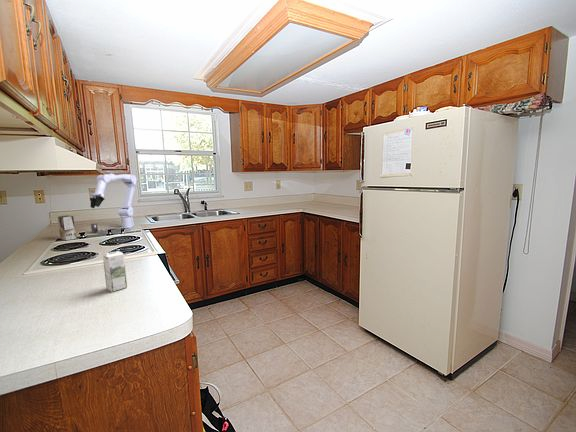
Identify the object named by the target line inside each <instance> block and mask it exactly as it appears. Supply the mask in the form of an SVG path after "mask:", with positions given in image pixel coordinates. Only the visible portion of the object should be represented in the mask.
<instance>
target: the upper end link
mask: <svg viewBox="0 0 576 432" xmlns="http://www.w3.org/2000/svg"><path fill="white" fill-rule="evenodd" d="M108 230H111V232H118V231H120V230H121V227H118V228H117V227H115V228H113V227H112V228H111V227H110V228H101V229H98V231H97V233H96V234H97V235H103V234H102V233H103V232H108Z"/></svg>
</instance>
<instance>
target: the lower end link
mask: <svg viewBox="0 0 576 432" xmlns="http://www.w3.org/2000/svg"><path fill="white" fill-rule="evenodd" d="M124 229H125V230H124V233H123V234H126V233H128V232H130V231H131V228H124ZM106 233H107V232H103V233H102V234H101V235H105V234H106ZM112 234H122V233H121V230H120V231H118V232H112ZM106 235H107V234H106Z"/></svg>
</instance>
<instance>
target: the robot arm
mask: <svg viewBox="0 0 576 432" xmlns="http://www.w3.org/2000/svg"><path fill="white" fill-rule="evenodd" d="M117 180H120V181H122V182H123V183H124V184H125V186H126V187H127V189H126V193H125V198H124V201H123V204H122V205H121V206H120V208H119V209H118V215H119V216H120V217H121V227H120V228H122V229H131V228H133V227H136V224H135V223H134V218H133V215H134V207H132V204H133V199H134V196H135V195H134V194H135V191H136V184H137V181H138V179H137V176H136V175H134V174H126V173H125V174H124V173H122V174H114V173H113V172H111V173H108V174H107V173H104V174H99V175H98V176H96V186H95V189H94V193H92V194H91V195H92V197H89V201H90V208H91V209H95V207H97V208H99V207H100V206H101V204H102V203H103V202H104V200H106V199H105V190H106V187H107V184H108V183H110V182H111V183H112V182H116V181H117Z"/></svg>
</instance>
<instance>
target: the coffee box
mask: <svg viewBox="0 0 576 432" xmlns="http://www.w3.org/2000/svg"><path fill="white" fill-rule="evenodd" d="M74 218H75V217H74V216H73V215H69V214H68V215H60V216H57V223H58V230H59V236H60V240H64V241H70V240H76V239H77V234H76V228H75V219H74Z"/></svg>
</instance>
